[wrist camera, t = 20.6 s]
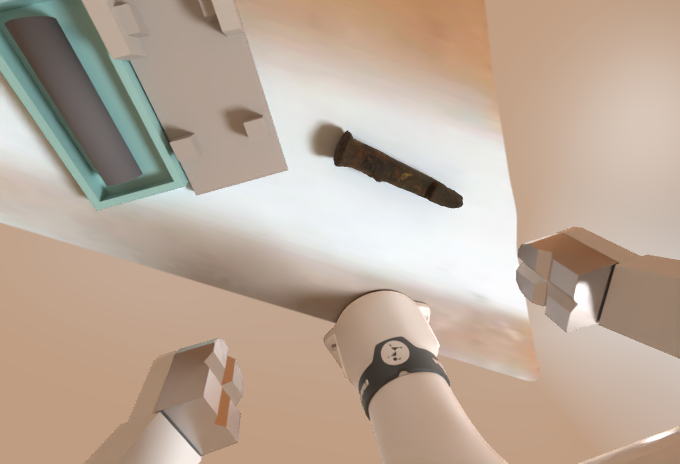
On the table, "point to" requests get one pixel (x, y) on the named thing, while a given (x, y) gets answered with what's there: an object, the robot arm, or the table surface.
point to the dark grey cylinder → (74, 96)
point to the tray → (114, 90)
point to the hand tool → (392, 172)
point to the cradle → (197, 84)
